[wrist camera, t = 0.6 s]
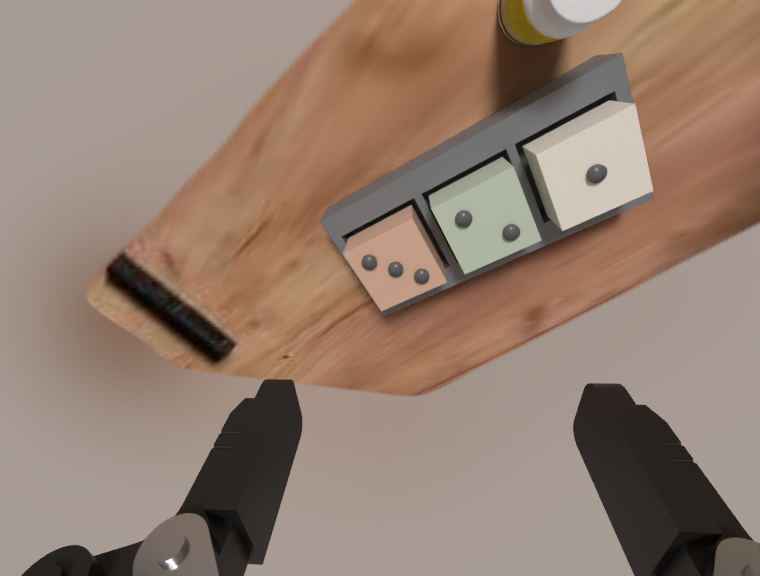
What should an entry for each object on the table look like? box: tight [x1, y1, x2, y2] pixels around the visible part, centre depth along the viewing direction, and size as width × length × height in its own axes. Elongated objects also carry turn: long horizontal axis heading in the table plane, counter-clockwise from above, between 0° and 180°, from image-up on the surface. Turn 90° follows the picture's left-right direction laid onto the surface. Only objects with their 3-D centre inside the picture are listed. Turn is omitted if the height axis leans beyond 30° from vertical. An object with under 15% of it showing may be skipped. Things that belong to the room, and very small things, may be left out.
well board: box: [320, 53, 653, 316], centre depth 28 cm, size 22×10×4 cm, turn 120°
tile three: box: [343, 205, 447, 311], centre depth 28 cm, size 6×6×3 cm
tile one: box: [522, 100, 653, 231], centre depth 24 cm, size 6×6×3 cm
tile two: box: [429, 157, 541, 274], centre depth 26 cm, size 6×6×3 cm
